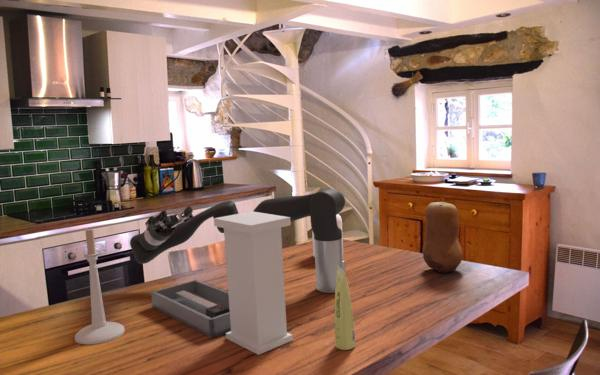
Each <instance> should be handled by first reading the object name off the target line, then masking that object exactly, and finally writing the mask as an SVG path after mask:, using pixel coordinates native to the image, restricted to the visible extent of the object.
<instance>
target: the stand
mask: <svg viewBox="0 0 600 375" xmlns="http://www.w3.org/2000/svg"><path fill="white" fill-rule="evenodd" d="M253 211H254V210H251V211H246V212H241V213H239V214H235V215H229V216H224V217H218V218H213V224H214V225H213V226H214V227H216V228H217V227H221V228H224V233H223V237H224V251H225V263H226V265H225V266H226V277H227V278H226V279H227V280H226V281H227V292H228V295H229V309H230V324H231V331H230V332H227V333H225V339H226V340H228V341H230V342H233V343H234V344H236V345H238V346H240V347H242V348H244V349H246V350H248V351H250V352H252V353H254V354H256V355H258V356H260V355H261V354H263V353H267V352H268V351H271V350H273V349H276V348H278V347H280V346H283V345H285V344H287V343H290V342H292V341H293V340H294V337H293V334H292V333H290V332H288V331H287V327H288V326H287V313H286V312H287V311H286V297H285V296H286V294H285V277H284V276H285V273H284V261H283V260H284V259H283V240H282V238H283V237H282V228H284V227H288V226H289V227H290V226H291V224H292V222H290V217H285V216H279V215H272V214H266V213H259V212H253Z"/></svg>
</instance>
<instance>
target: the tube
mask: <svg viewBox="0 0 600 375" xmlns="http://www.w3.org/2000/svg"><path fill="white" fill-rule="evenodd" d="M346 276H347V275H346ZM346 276H345V273H344V272H343V271H342V270H341V269H340V267H339V266H338V269H337V274H336V289H335V293H334V294H335V295H334V345H335V348H336V349H338V350H342V351H347V350H352V349H354V348H355V346H356V338H355V324H354V313H353V307H352V299H351V298H352V297H351V292H350V286H349V284H348V283H349V282H348V280H347V277H346Z"/></svg>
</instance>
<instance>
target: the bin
mask: <svg viewBox="0 0 600 375" xmlns="http://www.w3.org/2000/svg"><path fill="white" fill-rule="evenodd" d="M183 290H184V291H187V292H189V293H191V294H194V295H196V296H198V297H200V298H203V299H205V300H207V301H210V302H212V303H214V304H217V305H219V304H222V305H224V306H226V307H229V295H228V290H224V289H221V288H219V287H216V286H214V285H211V284H208V283H206V282H203V281H201V280H198V279H193V280H189V281H185V282H182V283H179V284H174V285H170V286H168V287H167V286H166V287H164V288H161V289H160V288H159V289H156V290H152V291H150V294H151V295H150V296H151V305H152V306H151V307H152V308H153V309H155V310H157V311H159V312H161V313H163V314H165V315H166V316H169V317H170V318H173V320H176V321H179V322H180V323H182V324H183V325H186V326H187V327H190V329H191V328H192V329H193V330H195V331H197V332H199V333H201V334H203V335H205V336H206V337H208V338H210V339H214V338H216V337H220V336H222V335H226V333H227V332H230V331H231V324H230V312H228V313H225V314H222V315H219V316H216V317H213V318H211V317H208V316H206V315H204V314H202V313H200V312H198V311H196V310H194V309H191V308H189V307H187V306H185V305H183V304H181V303H179V302H176V294H175V293H176V292H180V291H183Z"/></svg>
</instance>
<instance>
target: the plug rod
mask: <svg viewBox="0 0 600 375" xmlns="http://www.w3.org/2000/svg"><path fill="white" fill-rule="evenodd" d="M175 294H176V302H179V303H181V304H183V305H185V306H187V307H189V308H191V309H194V310H196V311H198V312H200V313H202V314H204V315H206V316H208V317H211V318H213V317H216V316H219V315H222V314H225V313H228V312H230V309H229V307H226V306H224V305H222V304H219V305H217V304H214V303H212V302H210V301H207V300H205V299H203V298H200V297H198V296H196V295H194V294H191V293H189V292H187V291H184V290H183V291H180V292H176V293H175Z"/></svg>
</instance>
